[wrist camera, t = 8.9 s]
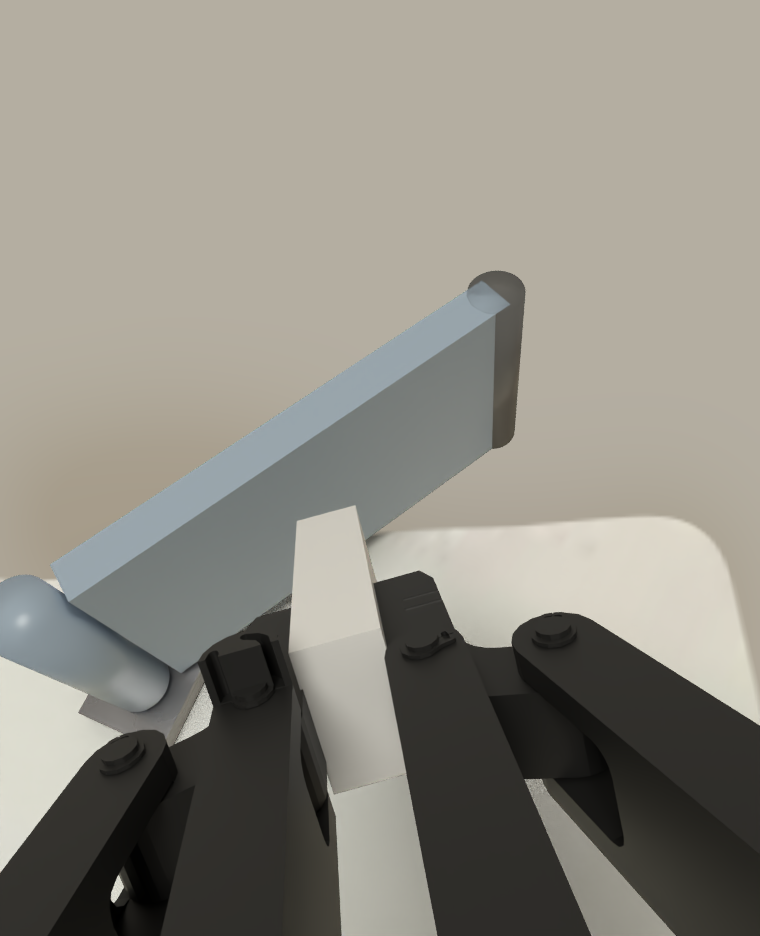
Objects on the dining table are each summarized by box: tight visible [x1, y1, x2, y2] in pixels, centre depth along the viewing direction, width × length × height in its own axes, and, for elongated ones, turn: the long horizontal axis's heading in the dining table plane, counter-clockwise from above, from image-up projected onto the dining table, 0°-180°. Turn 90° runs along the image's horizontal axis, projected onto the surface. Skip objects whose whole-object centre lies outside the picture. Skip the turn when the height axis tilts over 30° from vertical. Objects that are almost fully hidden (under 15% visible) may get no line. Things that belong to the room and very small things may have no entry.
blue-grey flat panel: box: [0, 271, 525, 712], centre depth 27 cm, size 21×2×9 cm, turn 126°
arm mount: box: [78, 661, 204, 747], centre depth 29 cm, size 4×4×1 cm
